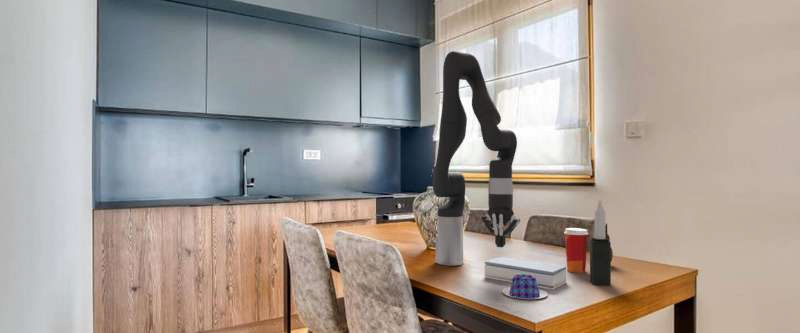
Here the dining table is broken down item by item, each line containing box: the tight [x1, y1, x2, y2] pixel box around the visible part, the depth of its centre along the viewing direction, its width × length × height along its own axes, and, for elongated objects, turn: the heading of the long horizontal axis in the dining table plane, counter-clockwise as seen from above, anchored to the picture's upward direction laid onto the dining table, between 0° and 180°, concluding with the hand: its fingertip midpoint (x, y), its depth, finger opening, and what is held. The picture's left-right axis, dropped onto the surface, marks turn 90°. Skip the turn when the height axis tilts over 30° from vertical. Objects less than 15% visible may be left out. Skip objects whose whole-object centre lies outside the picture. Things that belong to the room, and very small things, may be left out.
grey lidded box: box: [484, 264, 567, 291], centre depth 137 cm, size 22×10×4 cm, turn 49°
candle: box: [589, 199, 612, 287], centre depth 133 cm, size 5×5×25 cm
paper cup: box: [563, 227, 589, 274], centre depth 149 cm, size 8×8×14 cm
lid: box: [484, 256, 567, 275], centre depth 137 cm, size 22×10×1 cm, turn 49°
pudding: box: [501, 274, 548, 300], centre depth 122 cm, size 12×12×5 cm
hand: (500, 246), depth 141 cm, fingers closed
